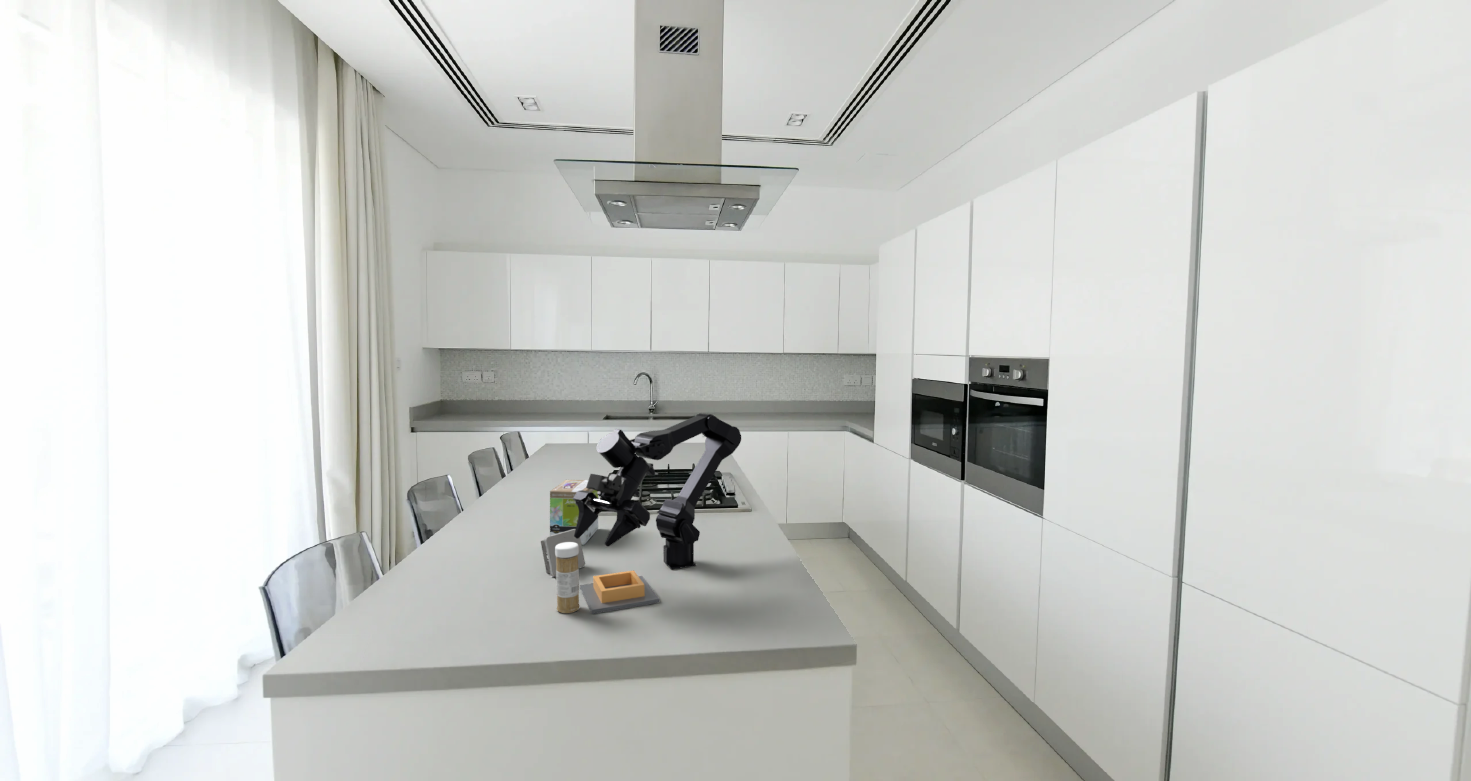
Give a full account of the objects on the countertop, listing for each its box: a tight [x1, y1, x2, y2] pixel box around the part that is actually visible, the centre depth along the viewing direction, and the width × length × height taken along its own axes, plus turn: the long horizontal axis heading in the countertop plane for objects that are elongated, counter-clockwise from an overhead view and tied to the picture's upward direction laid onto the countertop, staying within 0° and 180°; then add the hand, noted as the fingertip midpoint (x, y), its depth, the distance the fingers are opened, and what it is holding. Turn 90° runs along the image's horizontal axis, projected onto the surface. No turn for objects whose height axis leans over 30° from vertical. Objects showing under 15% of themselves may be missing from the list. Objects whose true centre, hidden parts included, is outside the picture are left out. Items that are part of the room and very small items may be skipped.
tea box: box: [549, 479, 599, 546], centre depth 174 cm, size 15×10×15 cm
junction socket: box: [579, 570, 660, 615], centre depth 134 cm, size 14×14×3 cm
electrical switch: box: [540, 529, 586, 578], centre depth 149 cm, size 9×5×9 cm, turn 141°
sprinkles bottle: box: [555, 542, 580, 614], centre depth 127 cm, size 5×5×14 cm
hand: (590, 541), depth 132 cm, fingers open, 9 cm apart
